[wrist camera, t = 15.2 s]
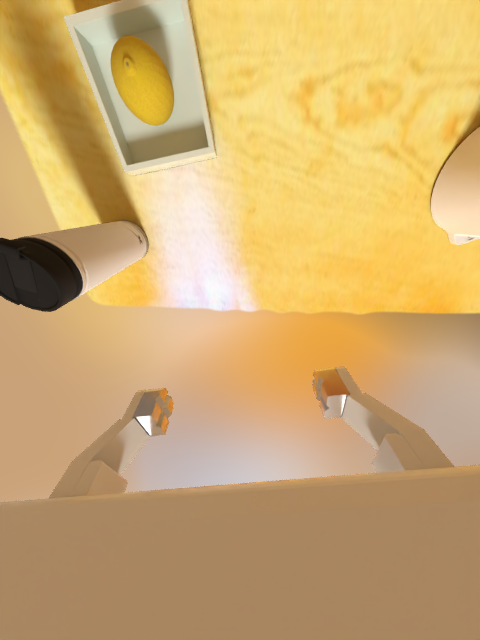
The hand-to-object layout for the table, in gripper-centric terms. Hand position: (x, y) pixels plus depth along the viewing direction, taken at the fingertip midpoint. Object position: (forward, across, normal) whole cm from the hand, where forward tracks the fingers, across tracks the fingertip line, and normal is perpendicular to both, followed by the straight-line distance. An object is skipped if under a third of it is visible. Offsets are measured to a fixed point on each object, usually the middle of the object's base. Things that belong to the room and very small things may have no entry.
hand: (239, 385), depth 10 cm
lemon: (+28, +7, -20) cm, 35 cm away
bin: (+28, +7, -20) cm, 35 cm away
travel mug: (+28, +18, -6) cm, 33 cm away
